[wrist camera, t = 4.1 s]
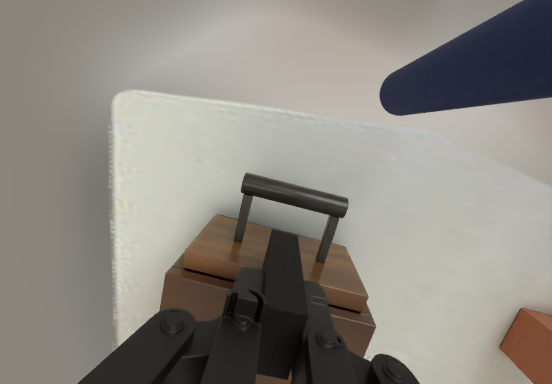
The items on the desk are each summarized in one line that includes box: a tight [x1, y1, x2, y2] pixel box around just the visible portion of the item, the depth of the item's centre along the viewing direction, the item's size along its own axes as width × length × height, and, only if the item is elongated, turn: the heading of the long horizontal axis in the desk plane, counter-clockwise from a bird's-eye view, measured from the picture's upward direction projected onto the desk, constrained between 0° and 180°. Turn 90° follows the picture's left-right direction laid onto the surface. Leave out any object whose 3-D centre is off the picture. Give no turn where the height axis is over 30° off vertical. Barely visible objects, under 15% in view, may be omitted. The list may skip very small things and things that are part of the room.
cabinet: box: [160, 252, 376, 384], centre depth 21 cm, size 15×13×9 cm
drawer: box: [182, 173, 368, 312], centre depth 20 cm, size 18×11×7 cm, turn 166°
